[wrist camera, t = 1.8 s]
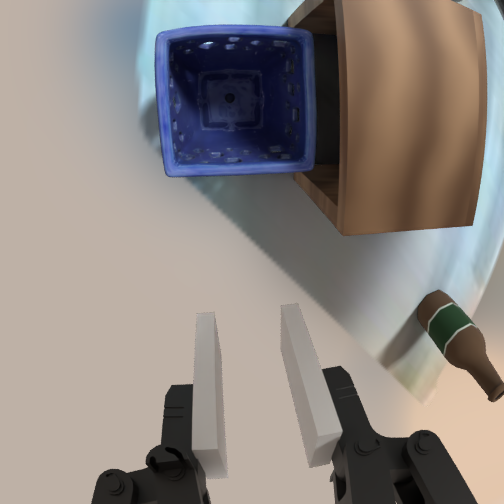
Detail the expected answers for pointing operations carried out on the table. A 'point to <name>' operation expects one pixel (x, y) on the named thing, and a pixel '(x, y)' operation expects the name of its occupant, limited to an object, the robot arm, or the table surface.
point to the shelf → (402, 114)
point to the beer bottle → (459, 340)
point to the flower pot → (236, 100)
